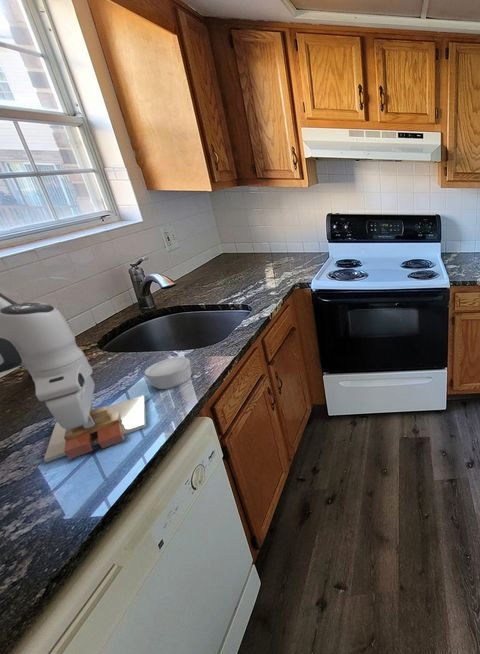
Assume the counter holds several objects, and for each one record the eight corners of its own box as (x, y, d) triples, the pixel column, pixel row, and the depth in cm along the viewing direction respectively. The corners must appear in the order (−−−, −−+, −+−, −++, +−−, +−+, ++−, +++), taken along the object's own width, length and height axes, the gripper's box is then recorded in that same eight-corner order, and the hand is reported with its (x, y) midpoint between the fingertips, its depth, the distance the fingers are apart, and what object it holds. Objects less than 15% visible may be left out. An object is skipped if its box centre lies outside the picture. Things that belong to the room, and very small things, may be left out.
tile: (45, 462, 81) (43, 459, 81) (57, 425, 93) (55, 422, 92) (145, 427, 91) (144, 424, 91) (145, 397, 103) (143, 394, 102)
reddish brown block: (69, 459, 81) (64, 451, 80) (70, 447, 84) (65, 440, 83) (93, 450, 83) (88, 443, 82) (93, 439, 86) (89, 432, 85)
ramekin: (159, 374, 114) (152, 360, 111) (199, 368, 117) (194, 353, 114) (144, 395, 104) (136, 379, 102) (188, 387, 107) (182, 371, 105)
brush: (69, 447, 84) (57, 427, 81) (72, 438, 86) (60, 418, 84) (123, 429, 89) (113, 409, 86) (123, 420, 92) (113, 401, 89)
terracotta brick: (102, 448, 84) (97, 442, 83) (101, 436, 87) (97, 429, 85) (124, 440, 87) (120, 434, 85) (123, 428, 89) (119, 422, 88)
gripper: (51, 359, 86) (78, 406, 92) (33, 399, 71) (67, 452, 77) (86, 350, 90) (110, 396, 95) (77, 387, 75) (105, 439, 81)
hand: (91, 422), depth 86 cm, fingers closed on brush, 2 cm apart
